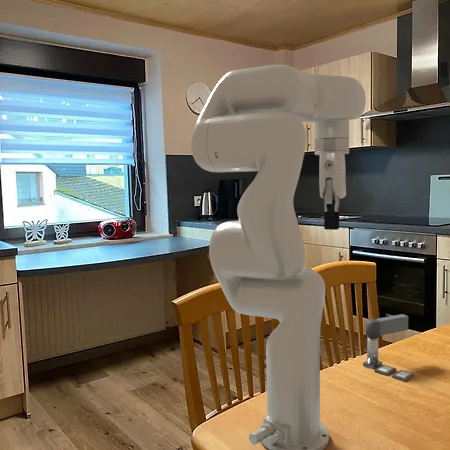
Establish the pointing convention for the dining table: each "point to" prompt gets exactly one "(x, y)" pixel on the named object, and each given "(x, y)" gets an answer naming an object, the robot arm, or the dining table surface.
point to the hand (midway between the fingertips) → (331, 229)
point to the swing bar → (386, 325)
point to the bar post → (372, 353)
